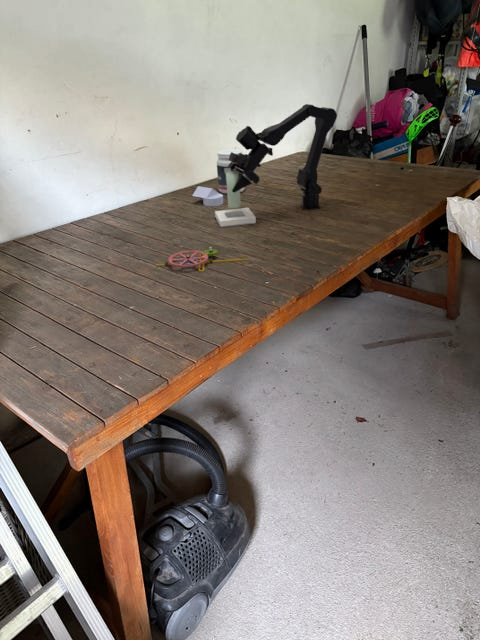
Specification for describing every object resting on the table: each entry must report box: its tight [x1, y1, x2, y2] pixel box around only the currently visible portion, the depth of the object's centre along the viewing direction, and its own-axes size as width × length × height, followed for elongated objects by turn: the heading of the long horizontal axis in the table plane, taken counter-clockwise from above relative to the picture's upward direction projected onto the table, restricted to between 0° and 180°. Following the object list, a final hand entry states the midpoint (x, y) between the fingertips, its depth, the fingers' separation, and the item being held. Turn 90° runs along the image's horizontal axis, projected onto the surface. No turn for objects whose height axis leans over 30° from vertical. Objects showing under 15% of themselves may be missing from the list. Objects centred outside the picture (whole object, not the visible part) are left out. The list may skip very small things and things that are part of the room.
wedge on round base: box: [192, 185, 224, 207], centre depth 225 cm, size 9×7×13 cm
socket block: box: [214, 207, 257, 228], centre depth 202 cm, size 14×14×2 cm
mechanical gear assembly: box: [155, 246, 248, 273], centre depth 164 cm, size 30×4×15 cm
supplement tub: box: [216, 149, 246, 194], centre depth 238 cm, size 13×13×18 cm
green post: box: [226, 172, 242, 209], centre depth 197 cm, size 5×5×13 cm
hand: (230, 190), depth 196 cm, fingers closed on green post, 5 cm apart
